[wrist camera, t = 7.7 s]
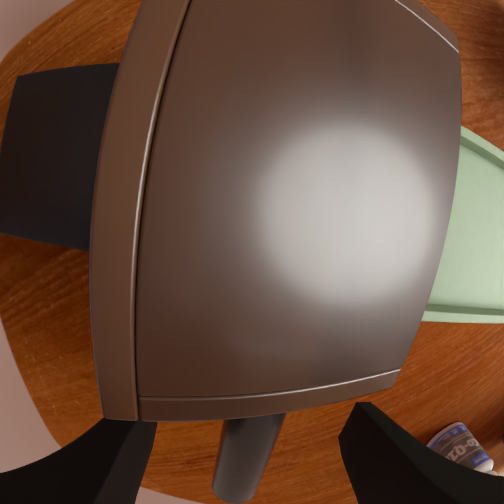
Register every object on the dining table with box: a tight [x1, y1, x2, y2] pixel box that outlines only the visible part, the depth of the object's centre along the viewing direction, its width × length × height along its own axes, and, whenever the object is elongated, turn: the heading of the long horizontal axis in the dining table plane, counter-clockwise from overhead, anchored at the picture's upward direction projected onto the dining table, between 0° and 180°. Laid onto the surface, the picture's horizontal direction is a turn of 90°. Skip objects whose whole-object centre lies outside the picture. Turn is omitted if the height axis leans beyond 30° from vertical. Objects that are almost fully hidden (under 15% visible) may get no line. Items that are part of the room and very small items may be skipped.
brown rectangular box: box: [89, 0, 462, 504], centre depth 7 cm, size 7×14×5 cm
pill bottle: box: [426, 422, 498, 476], centre depth 14 cm, size 5×5×8 cm
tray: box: [421, 125, 504, 323], centre depth 13 cm, size 35×10×2 cm, turn 80°
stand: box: [0, 63, 120, 251], centre depth 10 cm, size 7×7×4 cm
